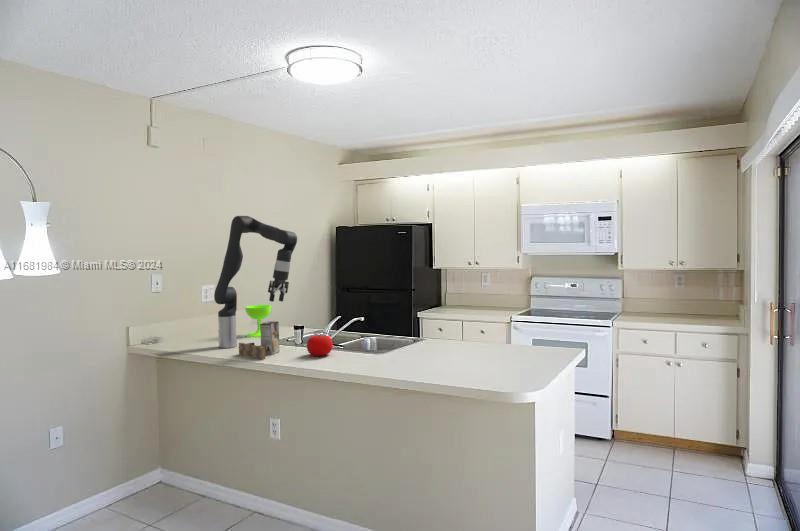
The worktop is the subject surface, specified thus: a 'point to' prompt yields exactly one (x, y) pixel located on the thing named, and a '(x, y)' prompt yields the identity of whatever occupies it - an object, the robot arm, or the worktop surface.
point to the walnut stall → (252, 350)
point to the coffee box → (270, 337)
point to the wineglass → (257, 316)
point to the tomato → (319, 345)
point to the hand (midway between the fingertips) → (276, 301)
